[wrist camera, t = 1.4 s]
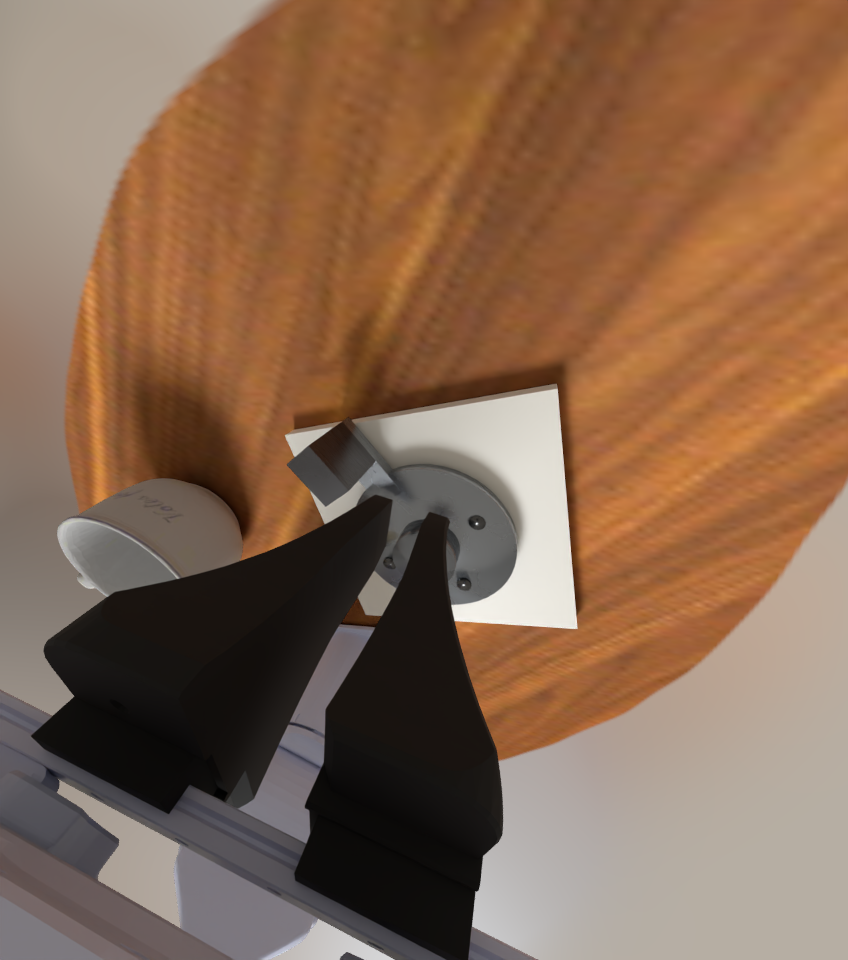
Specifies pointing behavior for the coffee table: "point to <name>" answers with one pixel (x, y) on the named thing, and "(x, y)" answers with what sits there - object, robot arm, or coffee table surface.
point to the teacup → (151, 536)
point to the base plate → (501, 468)
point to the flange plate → (418, 510)
